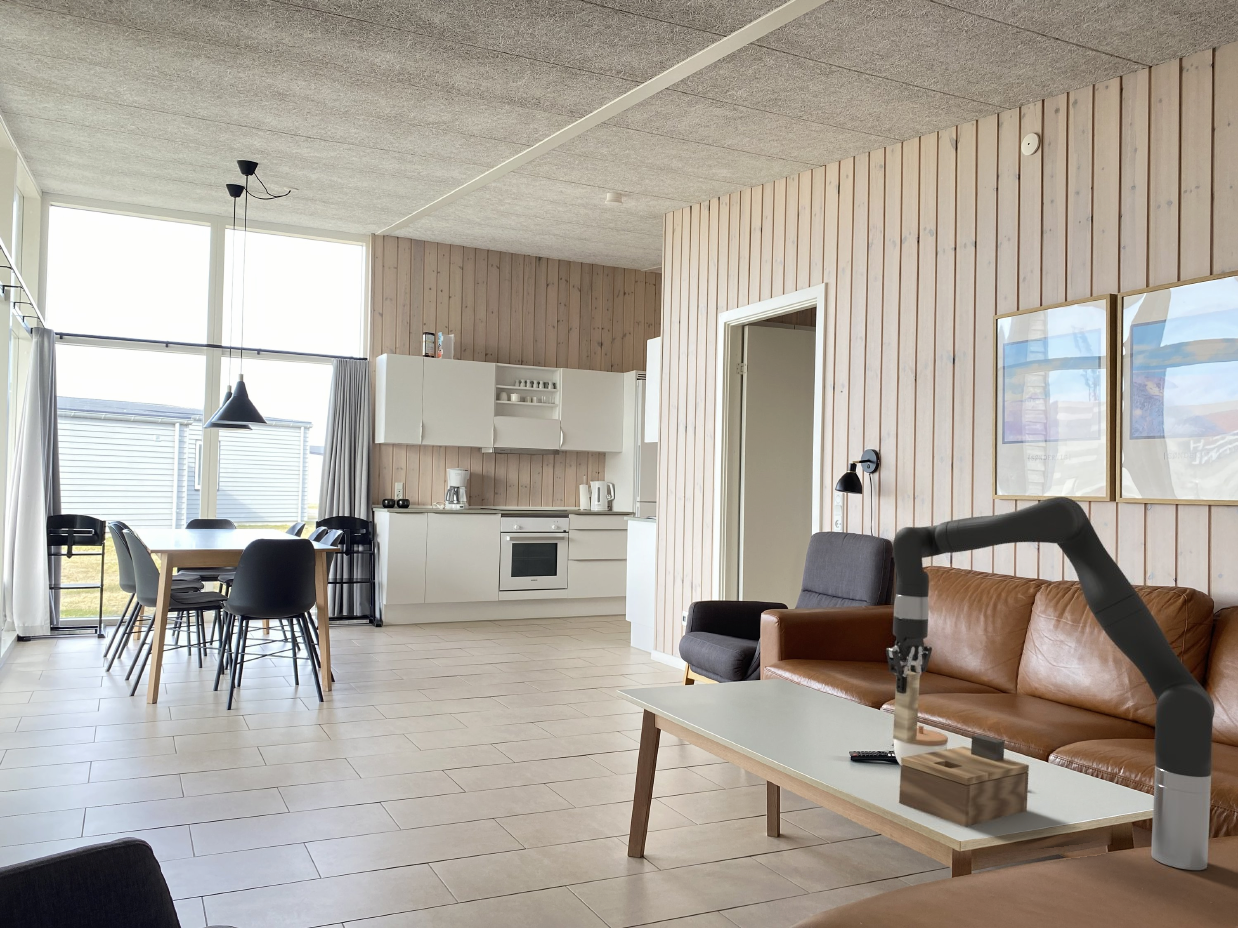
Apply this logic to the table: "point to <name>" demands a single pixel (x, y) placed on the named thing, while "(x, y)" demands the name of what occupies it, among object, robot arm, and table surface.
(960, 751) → the wooden box lid
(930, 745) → the lidded bowl
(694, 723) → the table surface
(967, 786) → the wooden rectangular box
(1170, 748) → the robot arm
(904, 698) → the key peg
